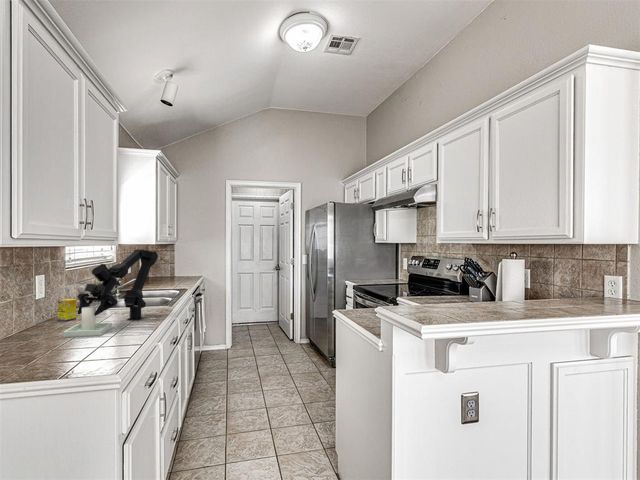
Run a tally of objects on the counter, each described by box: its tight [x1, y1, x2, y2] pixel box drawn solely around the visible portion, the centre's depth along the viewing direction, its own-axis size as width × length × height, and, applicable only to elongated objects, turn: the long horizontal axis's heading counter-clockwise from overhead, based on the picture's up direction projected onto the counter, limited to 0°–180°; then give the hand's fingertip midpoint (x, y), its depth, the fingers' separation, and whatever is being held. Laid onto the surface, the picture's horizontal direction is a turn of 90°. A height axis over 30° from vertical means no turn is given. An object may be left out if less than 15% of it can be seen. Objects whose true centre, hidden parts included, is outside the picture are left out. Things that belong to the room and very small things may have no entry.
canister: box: [81, 305, 97, 331], centre depth 167 cm, size 6×6×11 cm
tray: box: [62, 322, 113, 338], centre depth 167 cm, size 15×15×2 cm
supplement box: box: [57, 298, 77, 322], centre depth 191 cm, size 6×6×11 cm
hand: (86, 314), depth 166 cm, fingers open, 9 cm apart
